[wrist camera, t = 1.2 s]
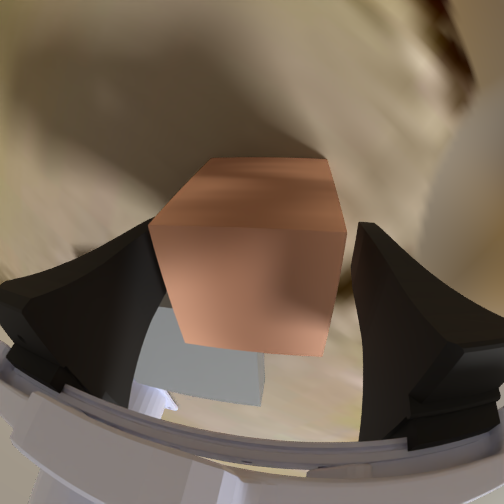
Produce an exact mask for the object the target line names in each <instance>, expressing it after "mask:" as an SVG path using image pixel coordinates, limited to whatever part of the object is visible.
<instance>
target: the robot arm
mask: <svg viewBox="0 0 504 504" xmlns="http://www.w3.org/2000/svg"><path fill="white" fill-rule="evenodd" d="M155 217H156V216H155ZM155 217H153V218H151V219H149V220H147V221H145V222H143V223H141V224H139V225H138V226H136V227H134V228H132V229H131V230H129V231H127V232H125V233H124V234H122V235H120V236H118V237H117V238H115V239H113V240H111V241H109V242H108V243H106V244H104V245H102V246H101V247H99V248H97V249H95V250H93V251H91V252H89V253H87V254H85V255H83V256H81V257H78V258H76V259H74V260H72V261H69V262H67V263H64V264H62V265H59V266H57V267H54V268H52V269H49V270H46V271H43V272H40V273H36V274H33V275H29V276H26V277H21V278H17V279H13V280H9V281H5V282H4V283H2V284H1V285H0V325H1V326H2V328H3V329H4V330H5V332H6V333H7V334H8V336H9V337H10V338H11V340H13V342H14V345H13V346H12V348H10V347H9V346H8V345H7V344H6V343H4V342H3V341H1V340H0V416H1V417H2V418H3V419H4V420H5V421H6V422H7V423H8V424H9V425H10V426H11V427H12V428H13V431H12V434H11V436H10V439H11V442H12V444H13V445H14V446H15V447H16V448H17V449H18V450H19V451H20V452H21V453H22V454H23V455H24V456H26V457H27V458H28V459H29V460H30V461H32V462H33V463H34V464H36V465H37V466H38V467H40V471H39V473H38V476H37V479H36V481H35V484H34V487H33V490H32V493H31V495H30V498H29V501H28V504H467V503H469V502H471V501H473V500H475V499H477V498H480V497H482V496H484V495H486V494H488V493H490V492H492V491H494V490H496V489H498V488H499V487H501V486H503V485H504V406H503V407H502V408H500V409H497V405H496V401H498V400H499V399H500V396H501V395H500V392H499V387H500V386H501V385H502V384H503V383H504V317H501V316H499V315H497V314H495V313H493V312H491V311H489V310H487V309H485V308H483V307H481V306H480V305H478V304H476V303H474V302H473V301H471V300H469V299H468V298H466V297H464V296H463V295H461V294H460V293H458V292H457V291H455V290H454V289H452V288H450V287H449V286H448V285H446V284H445V283H443V282H442V281H441V280H439V279H438V278H437V277H435V276H434V275H433V274H431V273H430V272H429V271H428V270H426V269H425V268H424V267H423V266H422V265H420V264H419V263H418V262H417V261H416V260H415V259H413V258H412V257H411V256H410V255H409V254H408V253H407V252H406V251H405V250H403V249H402V248H401V247H400V246H399V245H398V244H397V243H396V242H395V241H394V240H393V239H392V238H391V237H390V236H389V235H388V234H386V233H385V232H384V231H383V230H382V229H381V228H380V227H379V226H378V225H376V224H375V223H369V222H359V223H358V229H357V235H356V241H355V247H354V252H353V257H352V263H351V275H352V288H353V293H354V298H355V304H356V309H357V314H358V319H359V325H360V331H361V337H362V346H363V401H362V416H361V425H360V434H359V442H294V441H280V440H268V439H259V438H251V437H243V436H236V435H230V434H224V433H218V432H213V431H208V430H203V429H198V428H194V427H189V426H185V425H181V424H177V423H173V422H169V421H165V420H162V419H161V416H162V414H163V411H164V408H167V409H171V410H175V411H177V410H178V407H177V405H176V404H175V403H174V401H173V400H172V398H171V396H170V395H169V393H168V392H167V390H163V389H159V388H155V387H151V386H147V385H143V384H140V383H137V382H136V380H135V379H134V374H135V370H136V366H137V362H138V359H139V355H140V352H141V348H142V345H143V342H144V339H145V337H146V334H147V331H148V328H149V326H150V323H151V321H152V319H153V317H154V315H155V313H156V311H157V309H158V307H159V305H160V303H161V301H162V299H163V298H164V296H165V294H166V292H167V289H166V286H165V283H164V280H163V277H162V273H161V270H160V267H159V263H158V260H157V257H156V253H155V250H154V246H153V243H152V239H151V235H150V231H149V228H148V224H149V223H150V222H151V221H152V220H153V219H154V218H155ZM196 455H197V456H196ZM199 456H201V457H206V458H211V459H216V460H221V461H226V462H232V463H239V464H245V465H253V466H261V467H271V468H283V469H301V470H309V471H308V472H307V476H306V477H296V476H286V475H278V474H271V473H264V472H258V471H252V470H246V469H241V468H236V467H231V466H226V465H222V464H219V463H216V462H213V461H210V460H207V459H204V458H201V457H199Z"/></svg>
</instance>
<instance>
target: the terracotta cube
mask: <svg viewBox="0 0 504 504" xmlns="http://www.w3.org/2000/svg"><path fill="white" fill-rule="evenodd" d="M148 228H149V231H150V235H151V239H152V243H153V246H154V250H155V253H156V257H157V260H158V263H159V267H160V270H161V273H162V277H163V280H164V283H165V286H166V289H167V292H168V296H169V299H170V302H171V305H172V308H173V310H174V313H175V316H176V319H177V322H178V325H179V328H180V330H181V333H182V336H183V339H184V341H185V343H188V344H195V345H201V346H208V347H216V348H223V349H231V350H240V351H249V352H260V353H271V354H284V355H300V356H323V352H324V348H325V344H326V340H327V335H328V331H329V327H330V322H331V318H332V313H333V309H334V304H335V299H336V294H337V289H338V284H339V278H340V273H341V267H342V261H343V255H344V249H345V243H346V236H347V230H346V226H345V222H344V218H343V214H342V210H341V206H340V202H339V199H338V195H337V191H336V188H335V184H334V181H333V177H332V174H331V171H330V167H329V164H328V161H327V159H312V158H283V157H232V158H211V159H210V160H209V161H208V162H207V163H206V164H205V165H204V166H203V167H202V168H201V169H200V170H199V171H198V172H197V173H196V174H195V175H194V176H193V177H192V178H191V179H190V180H189V181H188V182H187V183H186V184H185V185H184V186H183V187H182V188H181V189H180V190H179V191H178V192H177V193H176V195H175V196H174V197H173V198H172V199H171V200H170V201H169V202H168V203H167V204H166V205H165V207H164V208H163V209H162V210H161V211H160V212H159V213H158V214H157V215H156V217H155V218H154V219H153V220H152V221H151V222H150V223H149V224H148Z"/></svg>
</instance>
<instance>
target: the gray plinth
mask: <svg viewBox="0 0 504 504" xmlns="http://www.w3.org/2000/svg"><path fill="white" fill-rule="evenodd" d="M134 379H135V380H136V382H137V383H140V384H143V385H147V386H151V387H155V388H159V389H163V390H167V391H171V392H175V393H180V394H184V395H189V396H194V397H199V398H205V399H210V400H216V401H222V402H229V403H236V404H243V405H251V406H260V407H261V401H262V394H263V388H264V382H265V373H264V353H260V352H249V351H240V350H231V349H223V348H216V347H208V346H201V345H195V344H188V343H185V341H184V339H183V336H182V333H181V330H180V328H179V325H178V322H177V319H176V316H175V313H174V310H173V308H172V305H171V302H170V299H169V296H168V292H166V294H165V296H164V298H163V299H162V301H161V303H160V305H159V307H158V309H157V311H156V313H155V315H154V317H153V319H152V321H151V323H150V326H149V328H148V331H147V334H146V337H145V339H144V342H143V345H142V348H141V352H140V355H139V359H138V362H137V366H136V370H135V374H134Z"/></svg>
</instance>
